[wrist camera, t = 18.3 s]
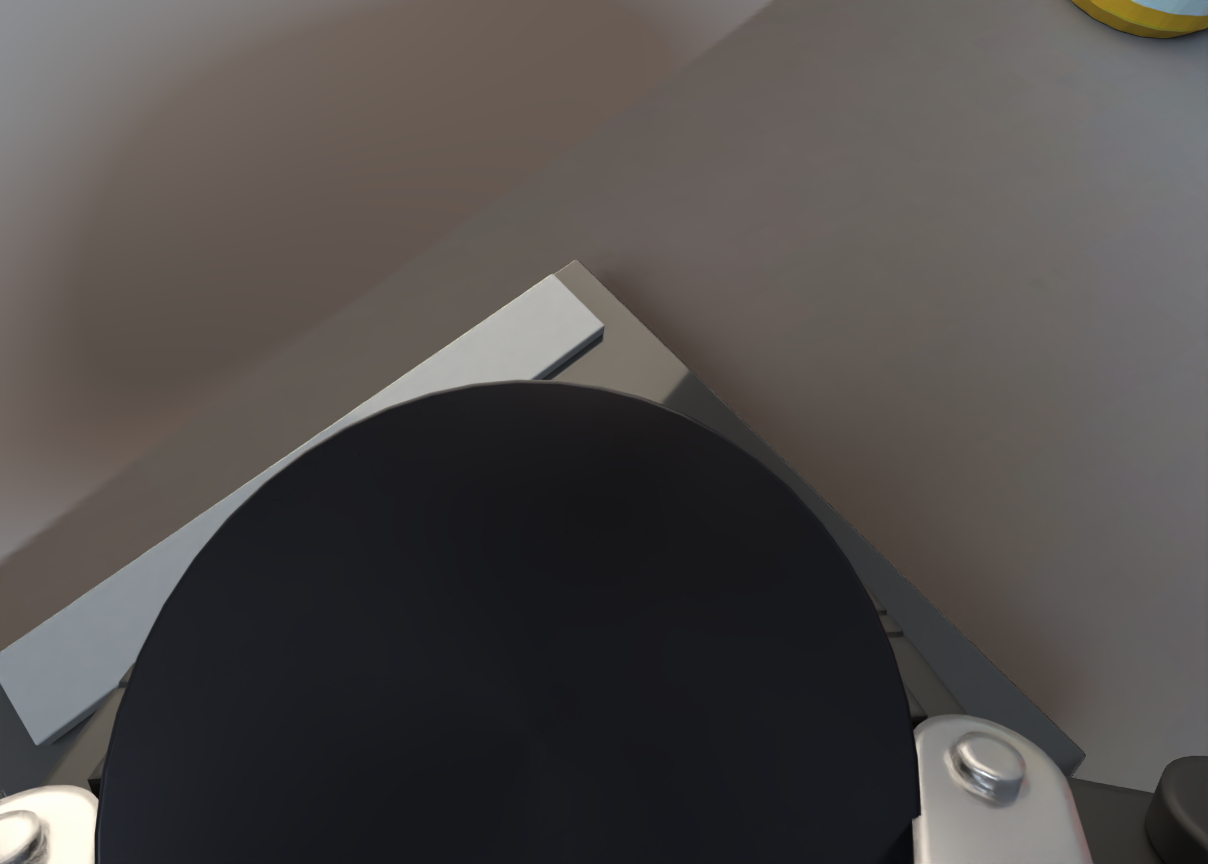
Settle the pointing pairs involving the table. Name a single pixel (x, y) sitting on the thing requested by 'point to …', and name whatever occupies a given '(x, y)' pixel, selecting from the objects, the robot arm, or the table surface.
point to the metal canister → (515, 657)
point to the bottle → (1149, 16)
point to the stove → (483, 354)
